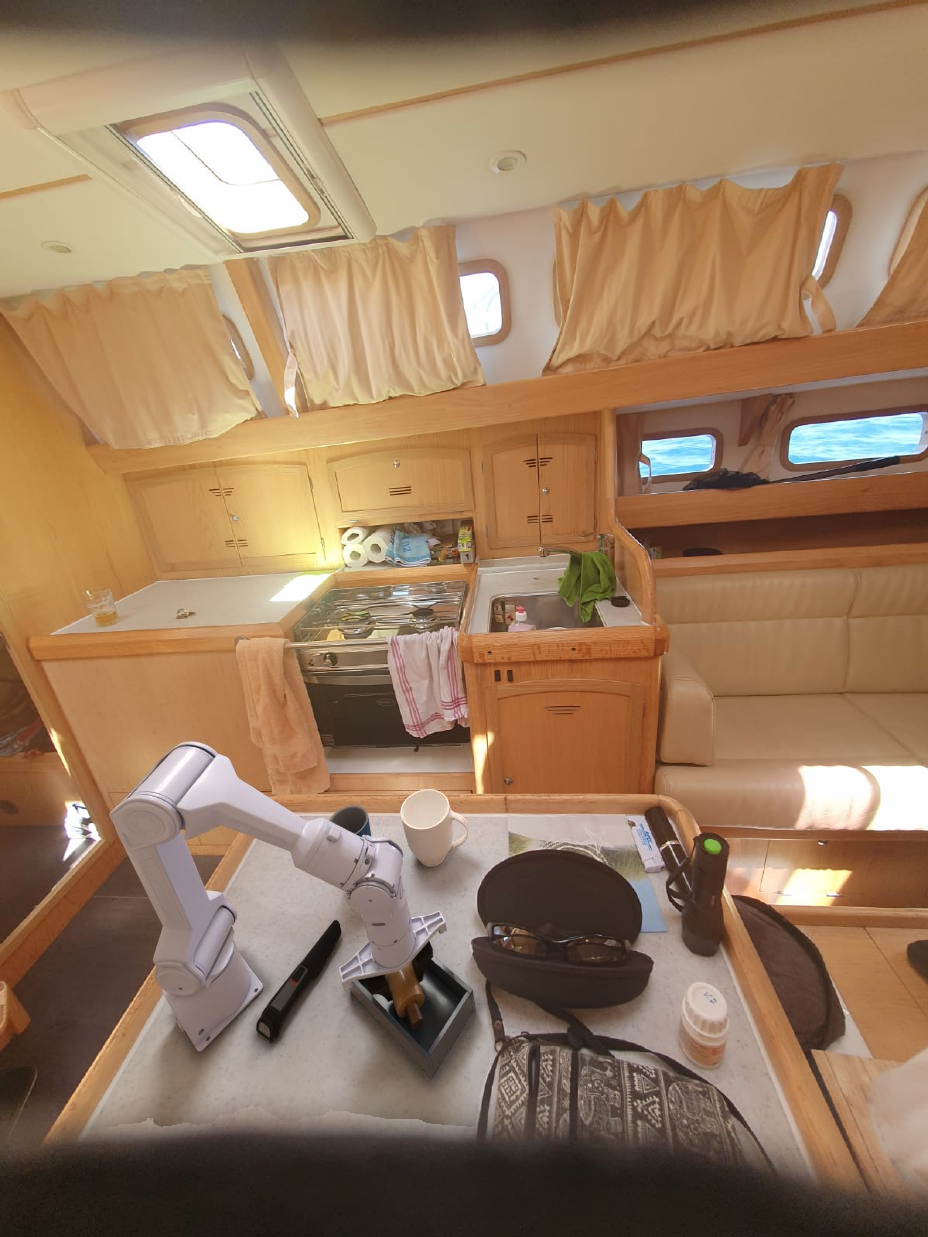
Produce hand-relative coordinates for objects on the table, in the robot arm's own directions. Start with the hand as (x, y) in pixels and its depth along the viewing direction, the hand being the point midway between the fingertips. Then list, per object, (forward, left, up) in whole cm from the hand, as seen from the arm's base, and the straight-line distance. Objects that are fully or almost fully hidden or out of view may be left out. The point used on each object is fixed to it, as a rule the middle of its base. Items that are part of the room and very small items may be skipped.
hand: (403, 984), depth 63 cm
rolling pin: (0, 0, -2) cm, 2 cm away
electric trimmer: (-8, +14, -3) cm, 16 cm away
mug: (+20, +11, -3) cm, 23 cm away
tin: (0, -1, -3) cm, 3 cm away
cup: (+8, +19, -3) cm, 21 cm away
